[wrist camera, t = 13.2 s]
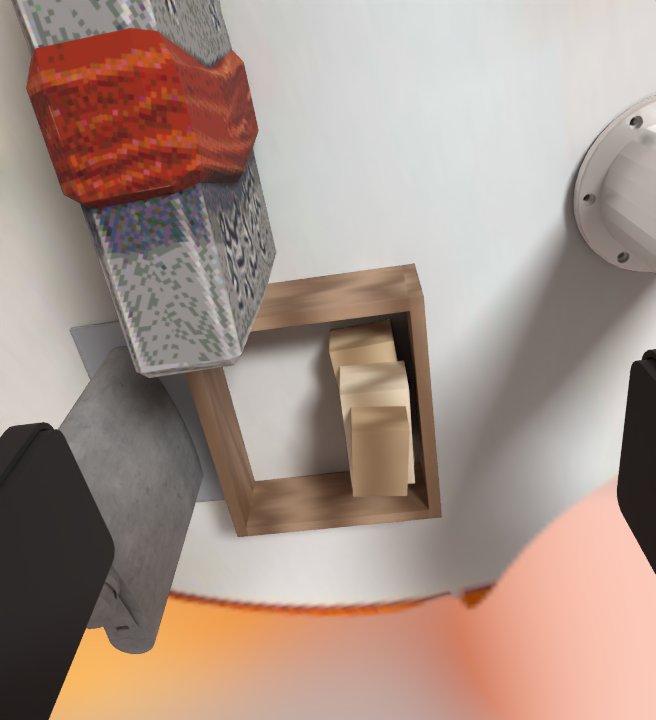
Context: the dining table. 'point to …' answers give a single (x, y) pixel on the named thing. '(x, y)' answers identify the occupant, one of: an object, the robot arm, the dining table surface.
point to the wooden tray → (330, 491)
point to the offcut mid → (374, 396)
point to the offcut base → (362, 346)
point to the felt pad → (107, 336)
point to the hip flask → (135, 492)
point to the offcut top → (380, 451)
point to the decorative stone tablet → (157, 168)
